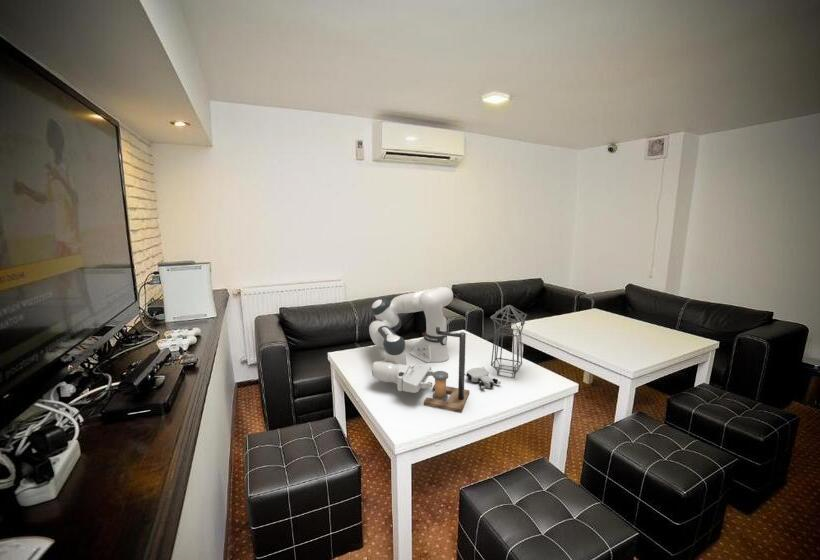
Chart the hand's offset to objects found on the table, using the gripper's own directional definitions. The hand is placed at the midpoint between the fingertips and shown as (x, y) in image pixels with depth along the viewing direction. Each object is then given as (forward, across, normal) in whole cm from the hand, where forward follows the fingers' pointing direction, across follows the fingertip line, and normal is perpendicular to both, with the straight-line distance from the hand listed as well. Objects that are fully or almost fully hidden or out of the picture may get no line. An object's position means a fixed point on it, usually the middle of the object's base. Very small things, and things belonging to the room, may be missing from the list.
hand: (435, 380), depth 144 cm
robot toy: (+17, -20, -8) cm, 28 cm away
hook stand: (+6, 0, -6) cm, 9 cm away
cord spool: (+2, 0, -8) cm, 8 cm away
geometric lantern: (+27, -35, -8) cm, 45 cm away
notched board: (+5, 0, -8) cm, 10 cm away
